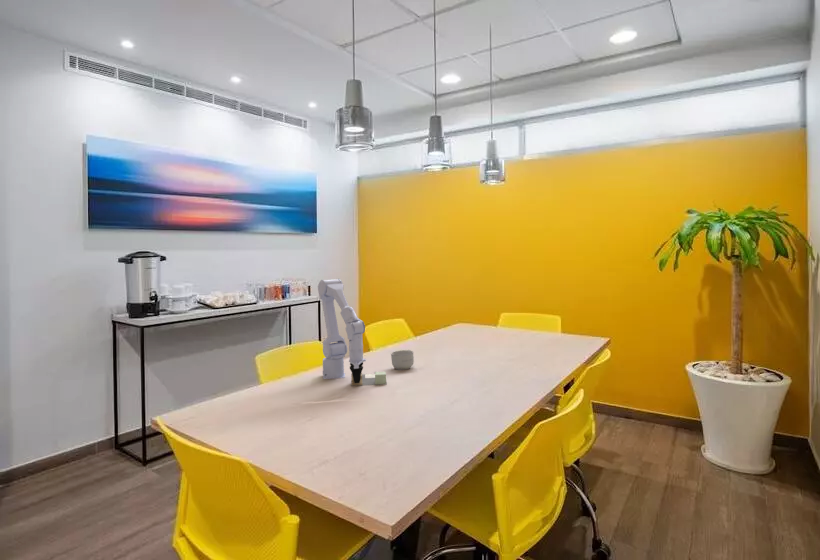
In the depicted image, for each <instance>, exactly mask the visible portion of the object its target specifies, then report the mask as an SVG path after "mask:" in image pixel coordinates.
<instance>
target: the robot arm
mask: <svg viewBox="0 0 820 560" xmlns="http://www.w3.org/2000/svg"><path fill="white" fill-rule="evenodd" d="M317 291H318V297H319V299H320V300H321V306H322V311H323V316H324V323H325V329H326V334H327V337H326V338H325V339H324V340H323V342H322V354H323V356H324V357H323V358H322V379H323V380H329V379H345V378H346V373H345V365H344V364H345V363H344V362H345V361H344V358H345V357H346V354H347V353H348V354H349V355H348V356H349V359H348V363H349V365H350V366H349V370H350V371H351V374H352V375H353V379H354V383H360V377H361V373H363V372H362V371H363V369H364V366H363V365H364V362H366V361H367V359H366V358H364V343H363V337H364V336H363V334H364V333H365V331H366V325H365V322H364V321H363V320H361V319H360V318H359V317H358V316H357V313H356V311H355V309H354V308H353V306H349V305H350V304H349V303H348V301H347V298H346V296H345V293H344V283H343V281H342V280H341V279H340V278H334V279H321V280H319V282H318V285H317ZM334 300H335V302H336V303H337V305H338V306H339V308H340V315H341V318H342V320H343V321H344V322H343V323H345V326H346V327H345V332H346V335H347V339H348V345H349V346H348V345H347V343H346V340H345V337H343V336H342V335H340V332H339V327H338V319H337V314H336V313H337V312H336V310H335V302H334ZM348 350H349V352H348Z"/></svg>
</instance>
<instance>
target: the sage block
mask: <svg viewBox="0 0 820 560" xmlns="http://www.w3.org/2000/svg"><path fill="white" fill-rule="evenodd" d="M374 374H375V384H383V385H387V384H386V382H387V372H386V371H375V372H374Z"/></svg>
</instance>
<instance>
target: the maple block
mask: <svg viewBox="0 0 820 560" xmlns="http://www.w3.org/2000/svg"><path fill="white" fill-rule="evenodd" d="M362 374H363V372H361V377H360V383H354V379H353V375H352V373H351V376H350V377H351V378H350V379H351V380H352V385H362ZM351 380H350V381H351Z"/></svg>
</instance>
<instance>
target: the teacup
mask: <svg viewBox="0 0 820 560" xmlns="http://www.w3.org/2000/svg"><path fill="white" fill-rule="evenodd" d="M390 357H391V364H392V366H393V368H395V369H396V370H402V371H403V370H404V371H405V370H410V369H411V368H412V366H414V363H415V359H414V358H415V356H414V351H413V350H411V349H405V350H402V349H401V350H395V351H392V352H391V353H390Z"/></svg>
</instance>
